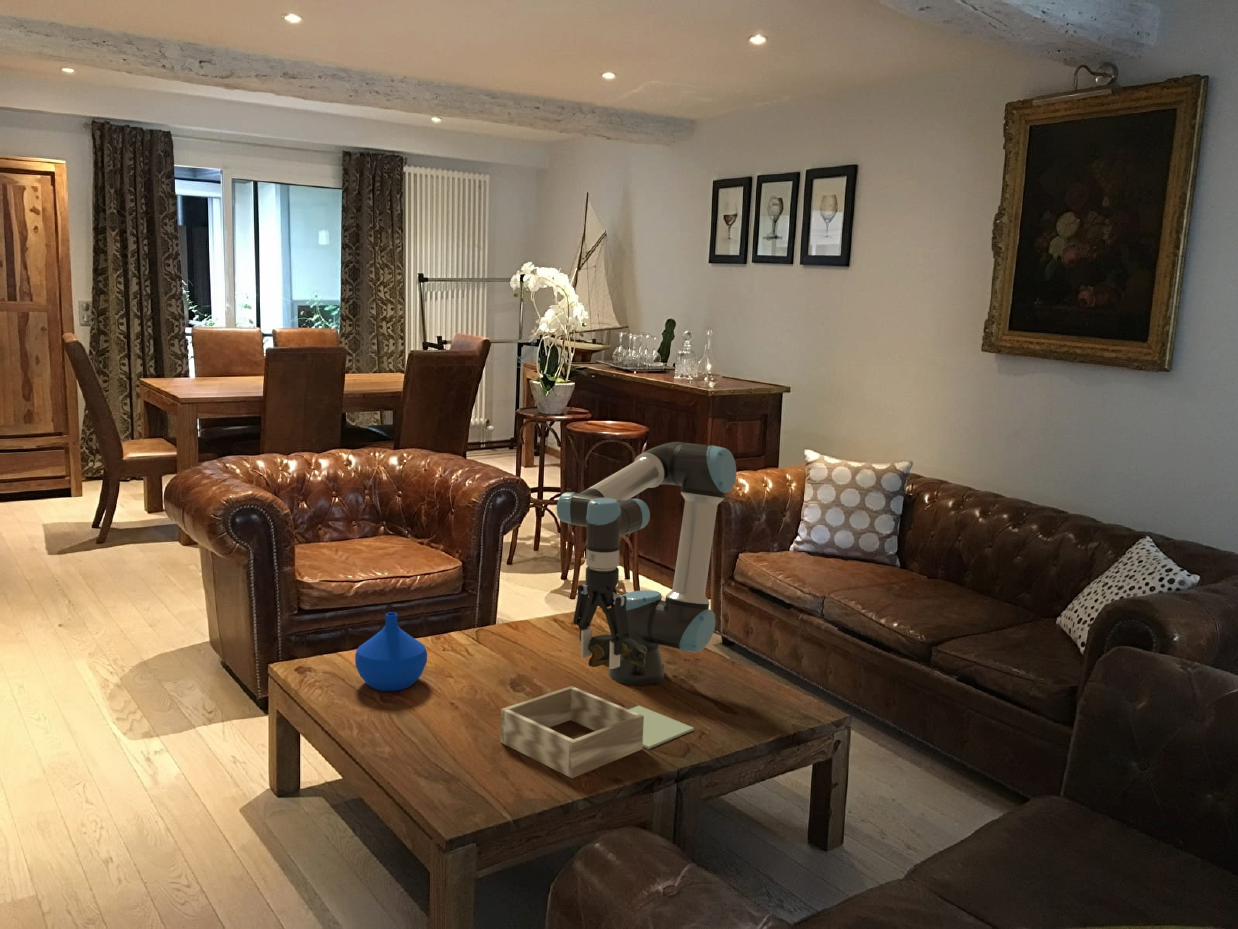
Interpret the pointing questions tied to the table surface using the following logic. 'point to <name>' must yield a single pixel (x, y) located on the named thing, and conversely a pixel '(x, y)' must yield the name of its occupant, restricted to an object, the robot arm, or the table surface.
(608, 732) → the frame
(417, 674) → the vase
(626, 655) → the sculpture
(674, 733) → the pad
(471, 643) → the table surface
